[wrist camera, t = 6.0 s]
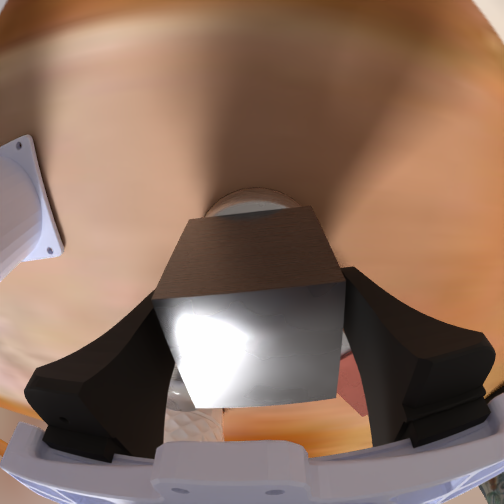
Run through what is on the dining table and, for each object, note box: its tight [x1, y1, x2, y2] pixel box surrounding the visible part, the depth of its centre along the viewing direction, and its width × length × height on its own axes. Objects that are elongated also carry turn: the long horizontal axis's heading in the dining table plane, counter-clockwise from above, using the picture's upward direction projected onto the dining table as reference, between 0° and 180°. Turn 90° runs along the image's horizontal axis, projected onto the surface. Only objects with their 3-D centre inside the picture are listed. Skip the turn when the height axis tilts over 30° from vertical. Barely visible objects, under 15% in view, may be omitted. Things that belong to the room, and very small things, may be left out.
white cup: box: [163, 408, 224, 444], centre depth 20 cm, size 8×8×10 cm
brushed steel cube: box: [151, 206, 346, 408], centre depth 12 cm, size 5×5×6 cm
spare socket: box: [166, 363, 200, 412], centre depth 19 cm, size 4×4×4 cm
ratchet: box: [204, 188, 368, 417], centre depth 17 cm, size 20×6×6 cm, turn 37°
